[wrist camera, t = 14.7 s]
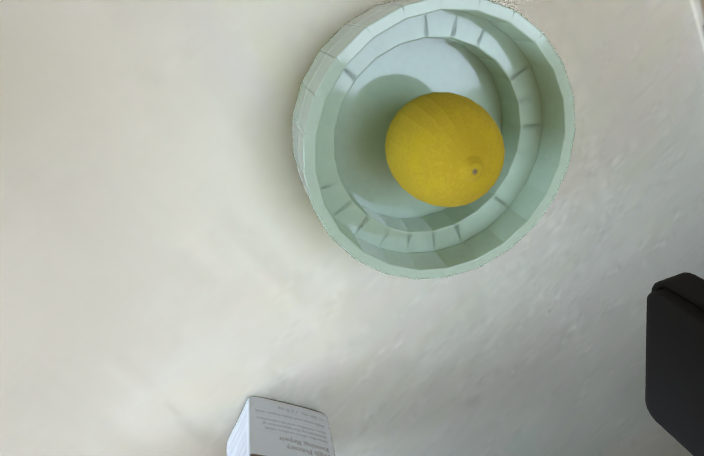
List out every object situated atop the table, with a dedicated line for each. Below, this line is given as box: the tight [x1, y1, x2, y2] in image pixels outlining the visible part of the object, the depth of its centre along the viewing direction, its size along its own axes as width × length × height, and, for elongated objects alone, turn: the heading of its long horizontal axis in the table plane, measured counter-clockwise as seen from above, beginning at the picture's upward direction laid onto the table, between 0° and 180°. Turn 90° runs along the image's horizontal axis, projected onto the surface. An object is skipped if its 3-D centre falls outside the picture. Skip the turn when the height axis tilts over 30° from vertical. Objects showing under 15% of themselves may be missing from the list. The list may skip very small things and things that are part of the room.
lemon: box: [385, 92, 505, 207], centre depth 27 cm, size 6×6×8 cm
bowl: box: [292, 0, 575, 279], centre depth 29 cm, size 14×14×5 cm
